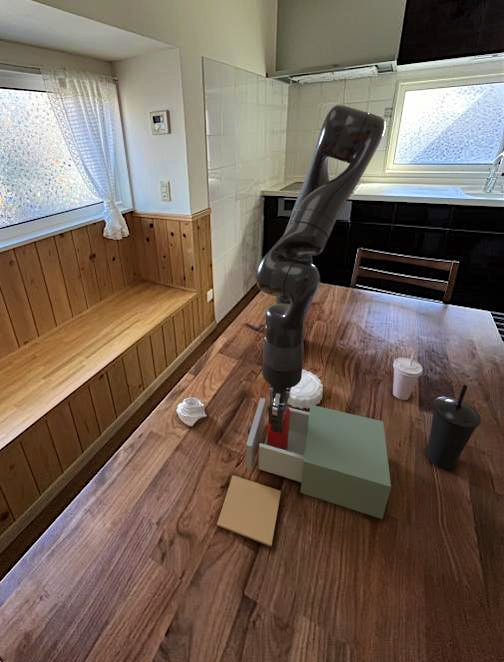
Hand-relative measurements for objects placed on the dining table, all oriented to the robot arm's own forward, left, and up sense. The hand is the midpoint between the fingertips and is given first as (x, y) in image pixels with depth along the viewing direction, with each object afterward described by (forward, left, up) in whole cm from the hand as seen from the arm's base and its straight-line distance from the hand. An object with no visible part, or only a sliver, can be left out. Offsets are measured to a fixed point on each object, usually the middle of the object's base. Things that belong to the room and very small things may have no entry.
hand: (278, 421), depth 71 cm
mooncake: (-6, +19, -10) cm, 22 cm away
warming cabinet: (+12, +5, -9) cm, 16 cm away
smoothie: (+14, +36, -10) cm, 40 cm away
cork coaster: (+3, -14, -9) cm, 17 cm away
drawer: (+1, 0, -8) cm, 9 cm away
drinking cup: (+26, +22, -10) cm, 36 cm away
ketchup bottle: (0, 0, -7) cm, 7 cm away
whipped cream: (-22, -6, -10) cm, 25 cm away
